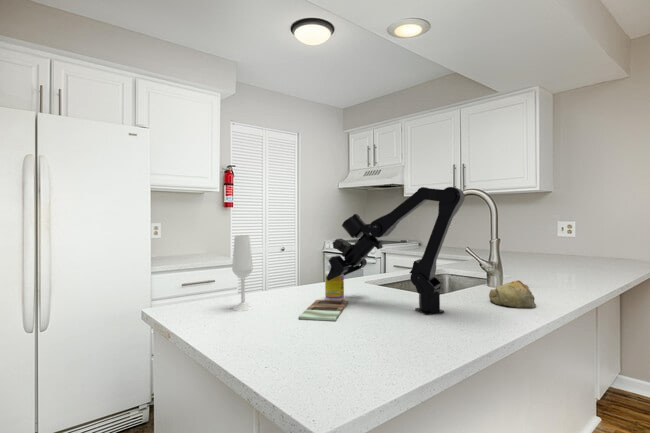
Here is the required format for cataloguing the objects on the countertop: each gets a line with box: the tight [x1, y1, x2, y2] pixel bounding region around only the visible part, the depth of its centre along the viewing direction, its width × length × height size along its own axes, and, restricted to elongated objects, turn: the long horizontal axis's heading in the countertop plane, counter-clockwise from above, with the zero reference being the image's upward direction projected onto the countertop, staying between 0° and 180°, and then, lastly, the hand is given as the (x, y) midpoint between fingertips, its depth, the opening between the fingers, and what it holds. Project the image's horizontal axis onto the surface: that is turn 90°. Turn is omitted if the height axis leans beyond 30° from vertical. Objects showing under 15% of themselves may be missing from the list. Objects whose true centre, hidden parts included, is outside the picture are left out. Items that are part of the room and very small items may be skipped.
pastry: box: [488, 279, 537, 309], centre depth 122 cm, size 14×12×8 cm
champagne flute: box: [231, 234, 254, 312], centre depth 122 cm, size 7×7×24 cm
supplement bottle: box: [324, 262, 345, 301], centre depth 132 cm, size 7×7×13 cm
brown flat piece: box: [298, 299, 349, 322], centre depth 117 cm, size 22×11×1 cm, turn 167°
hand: (334, 277), depth 132 cm, fingers open, 9 cm apart
